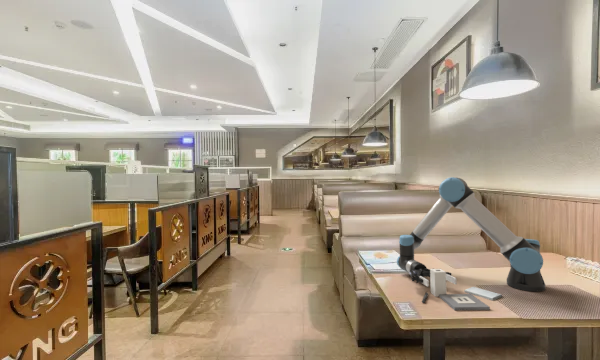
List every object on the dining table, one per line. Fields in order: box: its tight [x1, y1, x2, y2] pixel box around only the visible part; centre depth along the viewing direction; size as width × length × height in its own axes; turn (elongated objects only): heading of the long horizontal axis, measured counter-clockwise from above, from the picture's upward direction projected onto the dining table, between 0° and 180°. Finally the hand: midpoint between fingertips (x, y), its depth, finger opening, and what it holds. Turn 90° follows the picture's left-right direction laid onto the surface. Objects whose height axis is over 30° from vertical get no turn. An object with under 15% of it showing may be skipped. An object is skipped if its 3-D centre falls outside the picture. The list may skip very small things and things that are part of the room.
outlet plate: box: [439, 293, 491, 311], centre depth 127 cm, size 14×14×2 cm
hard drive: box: [463, 286, 503, 301], centre depth 137 cm, size 2×8×12 cm
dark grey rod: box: [421, 292, 429, 304], centre depth 132 cm, size 11×1×1 cm, turn 149°
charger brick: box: [429, 268, 447, 298], centre depth 138 cm, size 5×5×11 cm
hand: (442, 282), depth 135 cm, fingers open, 13 cm apart
